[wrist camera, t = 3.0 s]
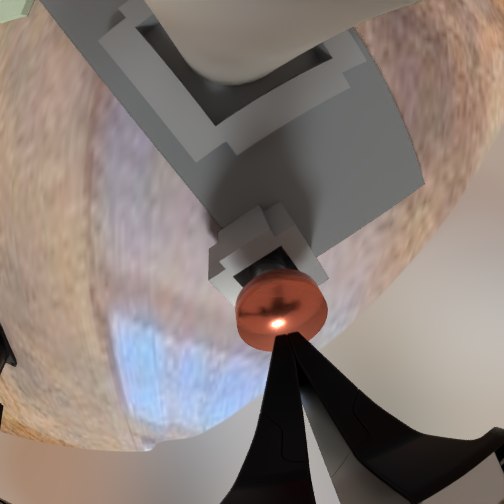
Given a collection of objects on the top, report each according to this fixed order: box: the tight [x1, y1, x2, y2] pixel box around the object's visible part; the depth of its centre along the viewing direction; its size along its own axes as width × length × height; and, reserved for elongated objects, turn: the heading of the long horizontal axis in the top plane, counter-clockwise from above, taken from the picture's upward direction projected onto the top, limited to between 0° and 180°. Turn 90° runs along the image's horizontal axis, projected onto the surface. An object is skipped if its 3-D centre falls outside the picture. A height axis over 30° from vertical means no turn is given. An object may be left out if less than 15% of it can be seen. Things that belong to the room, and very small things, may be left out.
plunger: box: [235, 250, 328, 351], centre depth 12 cm, size 4×4×4 cm
